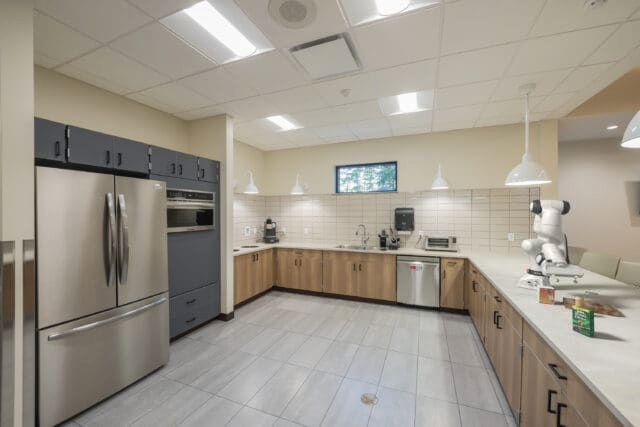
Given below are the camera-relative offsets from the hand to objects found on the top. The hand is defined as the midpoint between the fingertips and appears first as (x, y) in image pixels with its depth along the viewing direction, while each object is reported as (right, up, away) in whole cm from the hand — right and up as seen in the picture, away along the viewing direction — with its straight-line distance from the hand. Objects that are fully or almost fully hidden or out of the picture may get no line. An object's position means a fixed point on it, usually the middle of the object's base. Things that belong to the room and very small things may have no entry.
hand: (566, 282), depth 158 cm
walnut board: (+10, -16, -3) cm, 19 cm away
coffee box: (-25, -17, -33) cm, 44 cm away
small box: (-6, -16, +8) cm, 19 cm away
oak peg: (-4, -16, -11) cm, 20 cm away
